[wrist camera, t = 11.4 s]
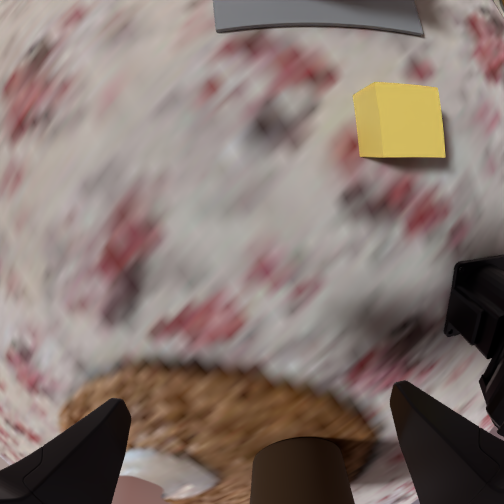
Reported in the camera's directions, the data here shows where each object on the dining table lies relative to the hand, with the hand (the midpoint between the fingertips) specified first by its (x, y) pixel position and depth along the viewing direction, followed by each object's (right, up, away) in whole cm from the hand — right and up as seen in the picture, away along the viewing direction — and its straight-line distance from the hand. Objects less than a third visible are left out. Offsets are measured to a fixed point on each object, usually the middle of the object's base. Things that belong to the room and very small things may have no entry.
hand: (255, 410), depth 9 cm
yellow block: (+8, +13, +8) cm, 18 cm away
